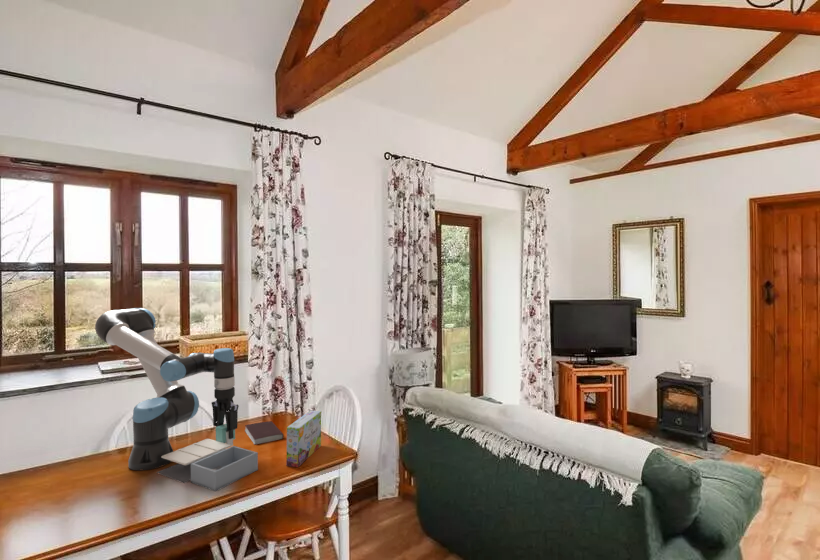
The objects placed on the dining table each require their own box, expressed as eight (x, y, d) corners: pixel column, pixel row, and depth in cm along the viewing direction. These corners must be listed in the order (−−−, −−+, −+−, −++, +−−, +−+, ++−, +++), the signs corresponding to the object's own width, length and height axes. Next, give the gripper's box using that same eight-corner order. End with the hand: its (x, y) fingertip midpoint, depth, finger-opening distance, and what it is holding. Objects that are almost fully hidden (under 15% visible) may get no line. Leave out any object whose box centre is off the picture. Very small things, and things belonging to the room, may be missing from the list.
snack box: (299, 468, 164) (299, 428, 163) (285, 466, 165) (285, 427, 164) (322, 445, 184) (321, 410, 184) (309, 444, 185) (309, 409, 185)
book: (272, 426, 208) (272, 420, 208) (283, 439, 192) (283, 432, 192) (244, 432, 202) (244, 425, 202) (254, 446, 185) (254, 438, 185)
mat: (156, 473, 160) (156, 472, 160) (218, 447, 182) (218, 447, 182) (184, 483, 152) (184, 482, 152) (245, 455, 175) (245, 454, 175)
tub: (190, 482, 152) (190, 463, 152) (234, 462, 168) (233, 445, 168) (215, 491, 146) (215, 472, 146) (257, 469, 162) (257, 452, 162)
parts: (201, 478, 154) (200, 472, 154) (233, 463, 166) (233, 458, 166) (218, 484, 149) (218, 478, 149) (250, 468, 161) (250, 463, 161)
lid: (161, 457, 160) (161, 441, 160) (220, 435, 182) (220, 420, 182) (185, 465, 153) (184, 448, 153) (243, 441, 175) (243, 426, 175)
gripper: (202, 387, 176) (203, 444, 177) (231, 392, 168) (232, 452, 168) (218, 382, 183) (219, 438, 183) (246, 387, 174) (247, 445, 175)
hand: (225, 445), depth 176 cm, fingers closed on lid, 4 cm apart
